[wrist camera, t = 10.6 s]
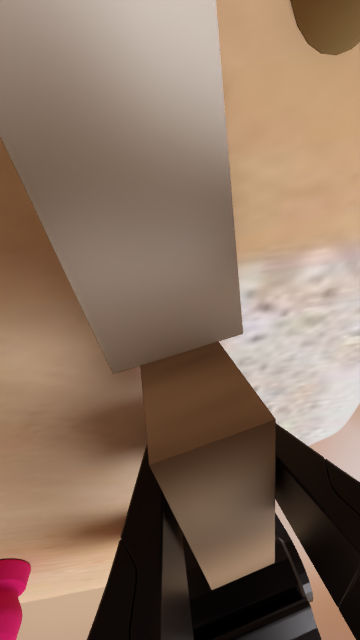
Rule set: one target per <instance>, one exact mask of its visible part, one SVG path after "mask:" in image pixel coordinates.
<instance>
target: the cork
mask: <svg viewBox="0 0 360 640" xmlns="http://www.w3.org/2000/svg"><path fill="white" fill-rule="evenodd" d="M291 3H292V7H293V11H294V15H295V18H296V22H297V26H298V28H299V29H300V31H301V33H302V34H303V36H304V38H305V39H306V41H307V43H308V44H309V45H311V46H312V47H313V48H315V49H316V50H317V51H319V52H320V53H322V54H330V55H338V54H340V53H343V52H345V51H348V50H351V49H352V48H353V47H354V46H356V45H357V44H358V43H359V42H360V0H291Z"/></svg>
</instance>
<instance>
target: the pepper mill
mask: <svg viewBox="0 0 360 640" xmlns="http://www.w3.org/2000/svg"><path fill="white" fill-rule="evenodd" d="M30 571H31V567H30V565H29V564H28V563H27V562H25V561H22V560H17V559H7V560H0V640H16V638H17V634H18V631H19V628H20V625H21V621H22V609H21V606H20V603H19V600H18V596H20V595H21V594H22V593H23V592H24V590H25V589H26V585H27V582H28V578H29V574H30Z"/></svg>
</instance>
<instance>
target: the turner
mask: <svg viewBox="0 0 360 640" xmlns="http://www.w3.org/2000/svg"><path fill="white" fill-rule="evenodd" d="M0 137H1V139H2V141H3V143H4V145H5V148H6V150H7V152H8V154H9V156H10V158H11V160H12V162H13V164H14V167H15V169H16V171H17V173H18V175H19V177H20V179H21V181H22V183H23V186H24V188H25V190H26V192H27V194H28V196H29V198H30V200H31V202H32V205H33V207H34V209H35V211H36V213H37V215H38V217H39V219H40V221H41V224H42V226H43V228H44V230H45V232H46V234H47V236H48V238H49V240H50V243H51V245H52V247H53V249H54V251H55V253H56V255H57V257H58V259H59V261H60V264H61V266H62V268H63V270H64V272H65V274H66V276H67V278H68V280H69V283H70V285H71V287H72V289H73V291H74V293H75V295H76V297H77V299H78V302H79V304H80V306H81V308H82V310H83V312H84V314H85V316H86V318H87V321H88V323H89V325H90V327H91V329H92V331H93V333H94V335H95V337H96V340H97V342H98V344H99V346H100V348H101V350H102V352H103V354H104V356H105V359H106V361H107V363H108V365H109V367H110V369H111V371H112V373H113V374H115V373H119V372H122V371H125V370H128V369H131V368H135V367H138V366H140V368H141V379H142V390H143V401H144V413H145V424H146V435H147V446H148V457H149V466H150V468H151V470H152V472H153V474H154V476H155V478H156V480H157V482H158V484H159V486H160V488H161V490H162V492H163V494H164V496H165V498H166V500H167V502H168V504H169V506H170V508H171V510H172V512H173V514H174V516H175V518H176V520H177V522H178V523H179V525H180V527H181V529H182V531H183V533H184V535H185V537H186V539H187V541H188V543H189V545H190V547H191V549H192V551H193V553H194V555H195V557H196V559H197V561H198V563H199V565H200V567H201V569H202V571H203V573H204V575H205V577H206V579H207V581H208V583H209V585H210V587H211V589H212V590H214V589H216V588H218V587H220V586H223V585H225V584H227V583H230V582H232V581H234V580H236V579H239V578H241V577H243V576H246V575H248V574H250V573H252V572H255V571H257V570H259V569H262V568H264V567H266V566H269V565H271V564H273V563H275V423H276V419H275V418H274V417H273V415H272V414H271V412H270V411H269V410H268V408H267V407H266V406H265V404H264V403H263V402H262V400H261V399H260V397H259V396H258V395H257V393H256V392H255V391H254V389H253V388H252V387H251V385H250V384H249V383H248V381H247V380H246V378H245V377H244V376H243V374H242V373H241V372H240V370H239V369H238V368H237V366H236V365H235V363H234V362H233V361H232V359H231V358H230V357H229V355H228V354H227V353H226V351H225V350H224V349H223V347H222V346H221V344H220V343H219V342H218V341H221V340H224V339H228V338H231V337H234V336H237V335H240V334H243V328H242V316H241V304H240V291H239V279H238V267H237V254H236V242H235V230H234V218H233V205H232V193H231V181H230V168H229V156H228V144H227V132H226V119H225V107H224V95H223V82H222V70H221V58H220V46H219V33H218V21H217V9H216V0H0Z"/></svg>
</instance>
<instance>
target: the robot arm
mask: <svg viewBox="0 0 360 640" xmlns="http://www.w3.org/2000/svg"><path fill="white" fill-rule="evenodd" d="M275 499H276V501H277V502H278V504H279V506H280V508H281V510H282V511H283V513H284V515H285V516H286V518H287V520H288V522H289V523H290V525H291V527H292V528H293V530H294V532H295V534H296V536H297V537H298V539H299V540H300V543H301V544H302V546H303V548H304V549H305V551H306V553H307V555H308V556H309V558H310V560H311V562H312V563H313V565H314V567H315V569H316V570H317V572H318V574H319V575H320V577H321V579H322V581H323V582H324V584H325V586H326V588H327V589H328V591H329V593H330V595H331V596H332V598H333V600H334V602H335V603H336V605H337V607H339V611H340V612H341V614H342V616H343V617H344V619H345V621H346V623H347V624H348V626H349V628H350V630H351V631H352V633H353V635H354V637H355V638H356V640H360V482H359V481H357V480H356V479H354V478H353V477H351V476H350V475H348V474H347V473H346V472H344V471H342V470H341V469H340V468H338V467H337V466H335V465H334V464H333V463H331V462H330V461H328V460H327V459H324V457H323V456H321V455H320V454H318V453H317V452H316V451H314V450H313V449H311V448H310V447H309V446H307V445H306V444H304V443H303V442H302V441H300V440H299V439H297V438H296V437H295V436H293V435H292V434H290V433H289V432H288V431H286V430H285V429H283V428H282V427H280V426H279V425H278V424H276V423H275ZM312 601H313V593H312V589H311V586H310V582H309V579H308V576H307V574H306V571H305V568H304V566H303V563H302V561H301V559H300V557H299V554H298V552H297V550H296V548H295V546H294V544H293V543H292V540H291V539H290V537H289V535H288V533H287V531H286V530H285V528H284V526H283V525H282V523H281V522H280V520H279V518H278V517H277V515H276V513H275V563H273V564H271V565H269V566H266V567H264V568H262V569H259V570H257V571H255V572H252V573H250V574H248V575H246V576H243V577H241V578H239V579H236V580H234V581H232V582H230V583H227V584H225V585H223V586H220V587H218V588H216V589H214V590H212V589H211V587H210V585H209V583H208V581H207V579H206V577H205V575H204V573H203V571H202V569H201V567H200V565H199V563H198V561H197V559H196V557H195V555H194V553H193V551H192V549H191V547H190V545H189V543H188V541H187V539H186V537H185V535H184V533H183V531H182V529H181V527H180V525H179V523H178V522H177V520H176V518H175V516H174V514H173V512H172V510H171V508H170V506H169V504H168V502H167V500H166V498H165V496H164V494H163V492H162V490H161V488H160V486H159V484H158V482H157V480H156V478H155V476H154V474H153V472H152V470H151V468H150V466H149V457H148V446H147V445H146V448H145V452H144V456H143V459H142V463H141V466H140V470H139V473H138V477H137V480H136V484H135V487H134V491H133V495H132V498H131V502H130V505H129V509H128V512H127V516H126V519H125V523H124V526H123V530H122V534H121V540H120V541H119V544H118V547H117V551H116V554H115V558H114V561H113V565H112V568H111V571H110V574H109V578H108V581H107V584H106V587H105V590H104V593H103V596H102V599H101V602H100V604H99V607H98V610H97V613H96V616H95V619H94V622H93V624H92V628H91V630H90V633H89V636H88V638H87V640H321V637H320V634H319V632H318V628H317V625H316V623H315V619H314V616H313V613H312V609H311V606H310V604H309V603H310V602H312Z"/></svg>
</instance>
